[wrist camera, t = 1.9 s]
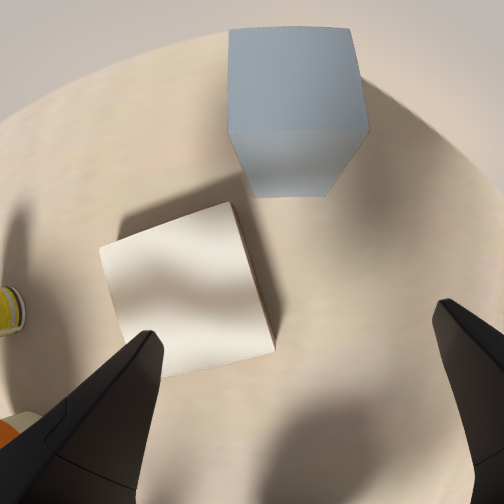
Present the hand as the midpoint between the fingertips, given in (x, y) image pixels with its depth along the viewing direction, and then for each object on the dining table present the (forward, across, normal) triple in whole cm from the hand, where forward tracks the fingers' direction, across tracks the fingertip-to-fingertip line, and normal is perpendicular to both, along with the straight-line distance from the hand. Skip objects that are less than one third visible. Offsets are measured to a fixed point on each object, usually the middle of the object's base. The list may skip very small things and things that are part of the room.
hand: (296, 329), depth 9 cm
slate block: (+16, 0, -2) cm, 16 cm away
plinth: (+10, -8, -8) cm, 15 cm away
